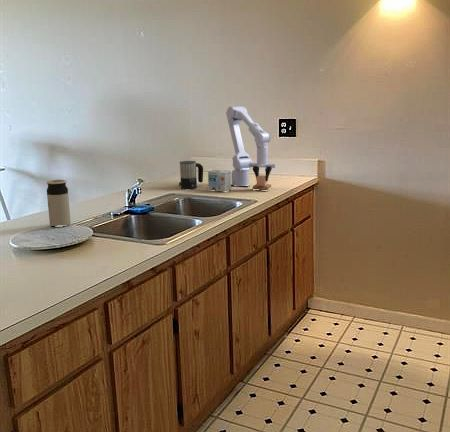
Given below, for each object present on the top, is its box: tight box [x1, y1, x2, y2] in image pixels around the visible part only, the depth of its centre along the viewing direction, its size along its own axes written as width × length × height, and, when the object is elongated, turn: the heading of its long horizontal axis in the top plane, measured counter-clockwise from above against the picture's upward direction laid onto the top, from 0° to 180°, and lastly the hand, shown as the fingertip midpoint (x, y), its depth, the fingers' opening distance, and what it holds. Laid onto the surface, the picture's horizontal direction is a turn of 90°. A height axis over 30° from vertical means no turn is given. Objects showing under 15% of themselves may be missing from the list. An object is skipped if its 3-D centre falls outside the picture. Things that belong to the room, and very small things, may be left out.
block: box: [256, 174, 268, 186], centre depth 276 cm, size 4×4×5 cm
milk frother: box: [178, 160, 204, 190], centre depth 287 cm, size 14×16×15 cm
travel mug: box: [46, 179, 72, 227], centre depth 205 cm, size 8×8×18 cm
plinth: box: [252, 183, 272, 190], centre depth 278 cm, size 8×8×2 cm
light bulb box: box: [207, 169, 232, 192], centre depth 276 cm, size 11×7×11 cm, turn 62°
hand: (262, 180), depth 277 cm, fingers closed on block, 4 cm apart
